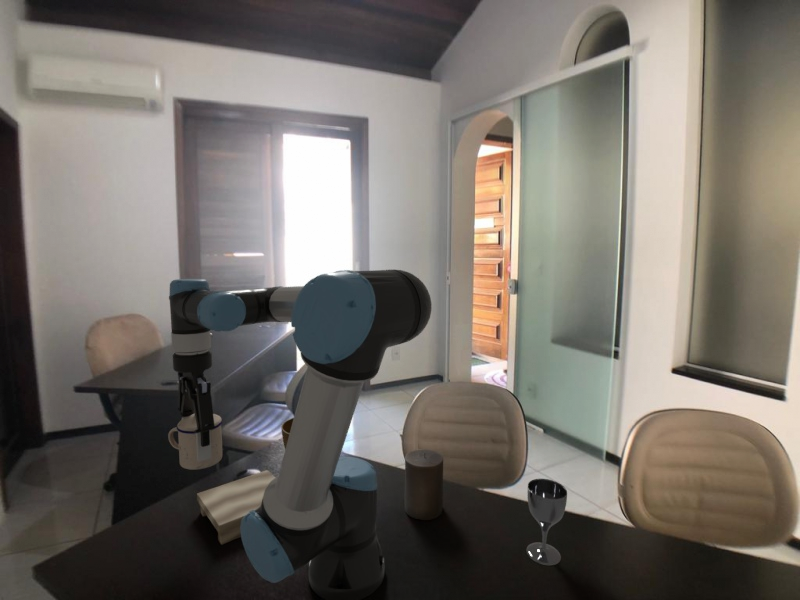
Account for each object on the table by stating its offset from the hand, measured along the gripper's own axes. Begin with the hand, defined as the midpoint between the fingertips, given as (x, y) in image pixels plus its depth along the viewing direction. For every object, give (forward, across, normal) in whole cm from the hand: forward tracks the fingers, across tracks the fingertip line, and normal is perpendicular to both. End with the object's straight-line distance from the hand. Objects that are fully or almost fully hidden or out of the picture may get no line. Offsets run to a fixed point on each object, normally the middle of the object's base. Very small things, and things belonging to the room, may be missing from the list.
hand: (196, 451), depth 95 cm
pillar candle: (+21, -26, -45) cm, 56 cm away
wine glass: (+21, -54, -53) cm, 79 cm away
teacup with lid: (+3, +1, 0) cm, 3 cm away
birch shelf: (+20, +2, -11) cm, 23 cm away
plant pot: (+20, +6, -31) cm, 38 cm away
